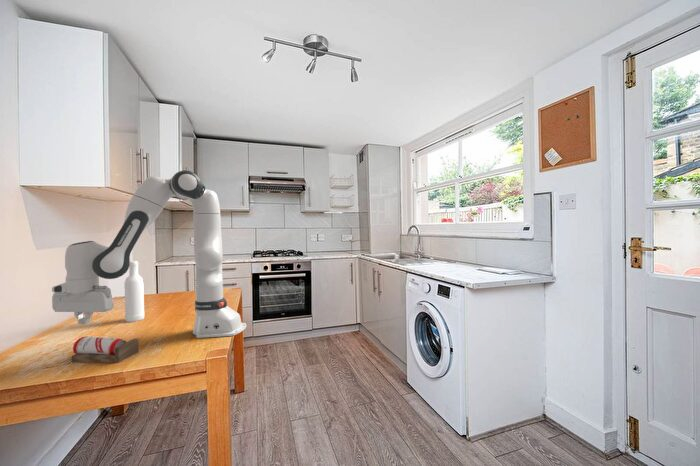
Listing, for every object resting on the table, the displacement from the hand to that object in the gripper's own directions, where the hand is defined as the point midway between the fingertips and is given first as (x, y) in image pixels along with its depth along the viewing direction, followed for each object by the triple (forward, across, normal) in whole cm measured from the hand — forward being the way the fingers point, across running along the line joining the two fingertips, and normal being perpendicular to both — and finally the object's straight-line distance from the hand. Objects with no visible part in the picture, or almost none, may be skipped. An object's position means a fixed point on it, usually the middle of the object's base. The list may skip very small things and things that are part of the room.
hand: (84, 323), depth 103 cm
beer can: (+8, +2, 0) cm, 8 cm away
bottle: (+12, +16, -41) cm, 46 cm away
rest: (+12, -8, 0) cm, 15 cm away
